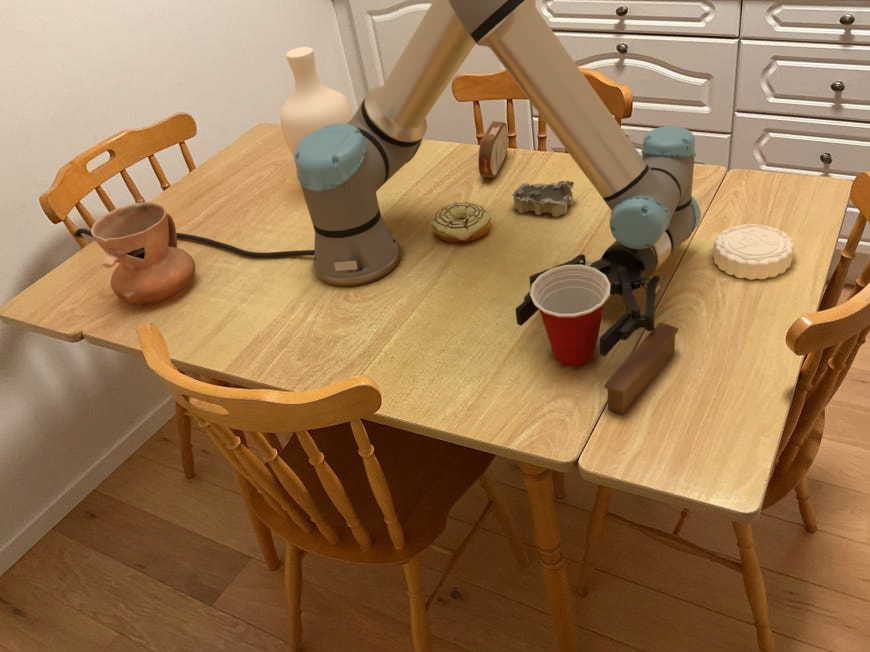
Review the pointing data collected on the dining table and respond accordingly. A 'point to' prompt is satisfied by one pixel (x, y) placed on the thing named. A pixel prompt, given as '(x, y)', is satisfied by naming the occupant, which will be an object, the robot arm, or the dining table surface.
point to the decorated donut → (461, 222)
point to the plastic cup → (571, 310)
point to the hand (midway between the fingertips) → (558, 332)
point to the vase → (310, 101)
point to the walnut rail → (640, 368)
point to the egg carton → (544, 198)
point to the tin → (493, 149)
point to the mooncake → (753, 251)
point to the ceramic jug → (143, 253)
